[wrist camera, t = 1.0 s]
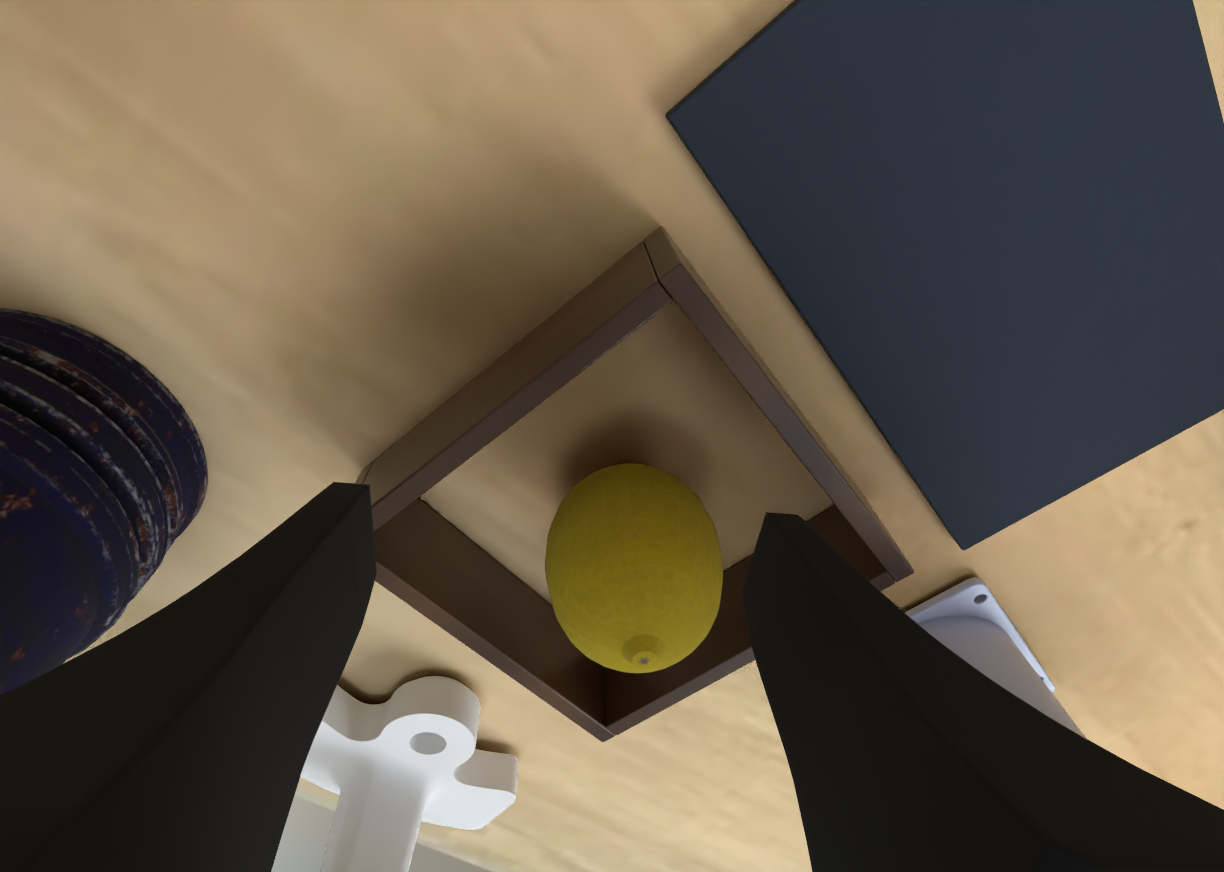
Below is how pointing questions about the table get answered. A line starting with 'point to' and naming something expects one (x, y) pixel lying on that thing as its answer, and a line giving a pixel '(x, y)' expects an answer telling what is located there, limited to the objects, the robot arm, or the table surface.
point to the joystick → (404, 772)
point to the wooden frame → (503, 605)
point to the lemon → (634, 568)
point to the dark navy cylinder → (82, 488)
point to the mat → (987, 227)
